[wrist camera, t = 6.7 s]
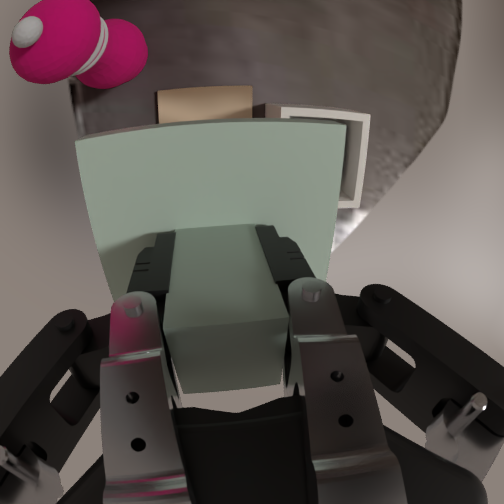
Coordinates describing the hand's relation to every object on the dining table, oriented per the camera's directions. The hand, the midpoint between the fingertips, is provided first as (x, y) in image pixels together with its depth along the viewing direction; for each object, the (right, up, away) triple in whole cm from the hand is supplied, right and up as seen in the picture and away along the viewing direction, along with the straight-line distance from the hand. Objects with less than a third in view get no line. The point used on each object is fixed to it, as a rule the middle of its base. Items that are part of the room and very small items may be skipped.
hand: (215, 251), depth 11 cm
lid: (0, +1, +2) cm, 2 cm away
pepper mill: (-13, +21, +13) cm, 27 cm away
